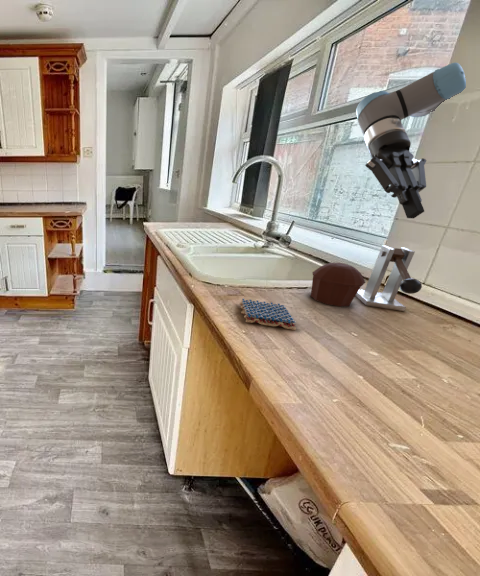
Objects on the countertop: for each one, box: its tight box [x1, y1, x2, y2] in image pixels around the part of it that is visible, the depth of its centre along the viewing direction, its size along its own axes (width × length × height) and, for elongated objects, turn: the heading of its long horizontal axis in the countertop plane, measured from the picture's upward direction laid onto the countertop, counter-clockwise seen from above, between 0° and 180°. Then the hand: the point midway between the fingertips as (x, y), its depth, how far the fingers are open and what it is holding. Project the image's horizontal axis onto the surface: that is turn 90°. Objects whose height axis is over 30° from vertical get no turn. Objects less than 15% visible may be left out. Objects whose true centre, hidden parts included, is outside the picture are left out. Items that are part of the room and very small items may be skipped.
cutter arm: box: [389, 247, 423, 295], centre depth 74 cm, size 15×4×4 cm, turn 158°
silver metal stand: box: [355, 244, 416, 312], centre depth 81 cm, size 10×8×15 cm
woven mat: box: [239, 298, 297, 331], centre depth 71 cm, size 10×11×2 cm
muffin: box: [310, 262, 367, 308], centre depth 81 cm, size 12×11×10 cm
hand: (415, 214), depth 71 cm, fingers closed
